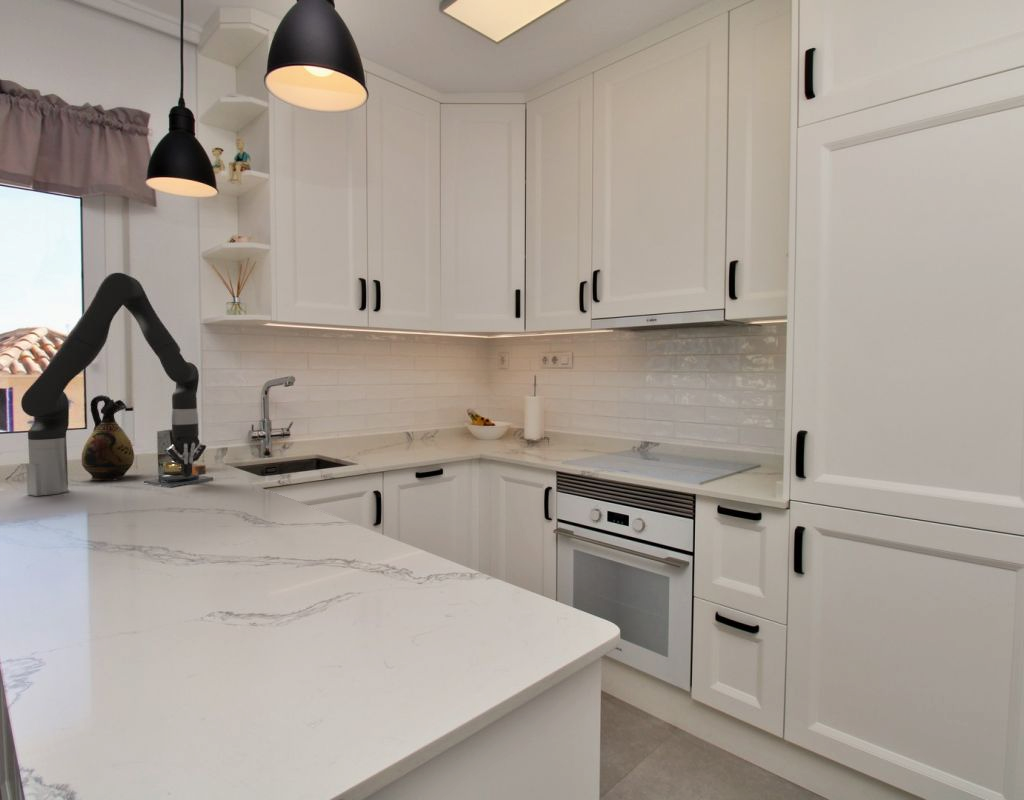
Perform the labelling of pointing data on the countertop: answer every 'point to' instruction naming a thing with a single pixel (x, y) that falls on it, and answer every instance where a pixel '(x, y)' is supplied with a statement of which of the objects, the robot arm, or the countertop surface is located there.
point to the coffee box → (163, 447)
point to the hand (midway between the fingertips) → (186, 474)
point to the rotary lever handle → (176, 468)
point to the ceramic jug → (107, 443)
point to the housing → (177, 479)
